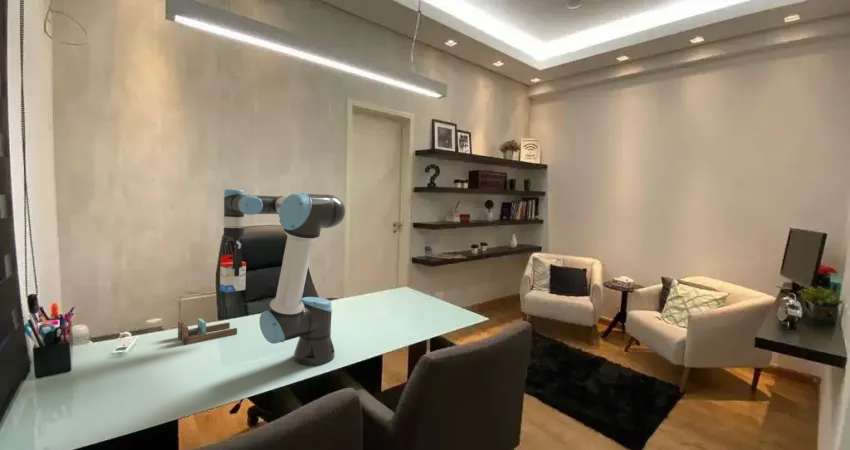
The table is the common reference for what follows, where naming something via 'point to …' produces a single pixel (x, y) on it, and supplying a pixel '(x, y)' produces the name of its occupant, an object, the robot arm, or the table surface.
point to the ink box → (227, 275)
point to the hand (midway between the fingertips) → (233, 282)
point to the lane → (186, 340)
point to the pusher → (199, 327)
